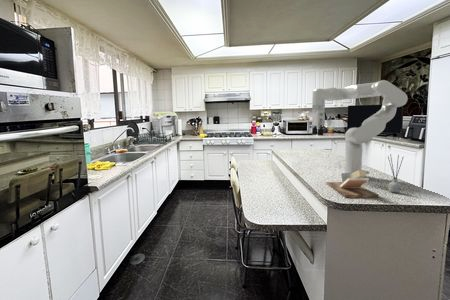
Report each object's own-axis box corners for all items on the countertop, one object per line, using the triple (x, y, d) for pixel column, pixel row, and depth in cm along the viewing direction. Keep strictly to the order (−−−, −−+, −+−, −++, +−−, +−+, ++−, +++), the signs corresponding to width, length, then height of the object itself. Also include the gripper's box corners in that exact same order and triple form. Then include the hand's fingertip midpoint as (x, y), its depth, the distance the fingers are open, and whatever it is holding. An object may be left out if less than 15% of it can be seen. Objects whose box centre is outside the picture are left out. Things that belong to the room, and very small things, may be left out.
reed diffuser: (405, 194, 117) (408, 155, 114) (392, 195, 116) (395, 155, 114) (390, 189, 127) (393, 152, 124) (378, 189, 127) (380, 153, 124)
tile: (368, 177, 116) (369, 180, 116) (357, 185, 126) (358, 188, 125) (348, 178, 116) (348, 180, 116) (339, 186, 126) (339, 188, 125)
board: (352, 184, 137) (352, 182, 137) (378, 197, 113) (378, 194, 113) (324, 184, 137) (325, 182, 137) (345, 198, 114) (345, 195, 113)
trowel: (355, 173, 126) (369, 166, 114) (357, 184, 124) (372, 178, 112) (340, 173, 126) (353, 167, 114) (342, 184, 124) (355, 179, 112)
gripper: (330, 107, 142) (328, 135, 144) (318, 109, 159) (318, 134, 161) (317, 107, 142) (316, 135, 144) (307, 109, 159) (307, 134, 161)
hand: (317, 134), depth 153 cm, fingers open, 9 cm apart
